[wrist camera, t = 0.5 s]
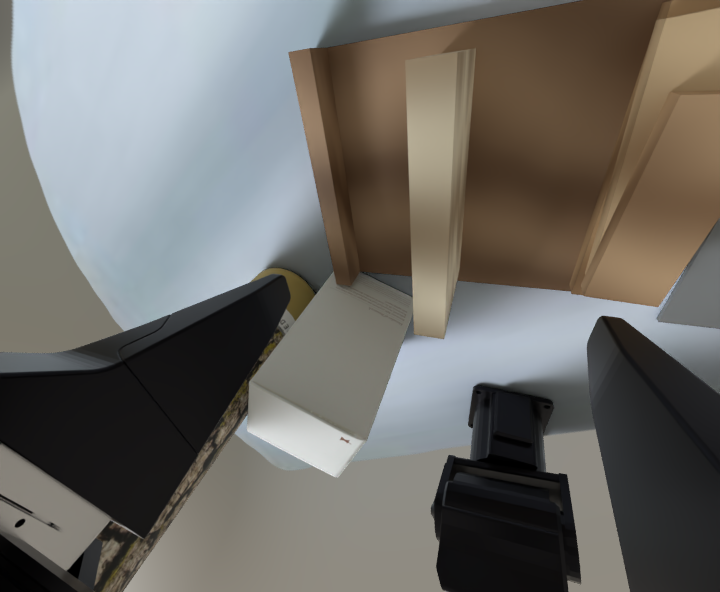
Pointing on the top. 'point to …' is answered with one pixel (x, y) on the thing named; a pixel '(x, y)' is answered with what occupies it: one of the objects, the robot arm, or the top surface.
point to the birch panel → (437, 179)
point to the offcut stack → (660, 165)
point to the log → (130, 550)
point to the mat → (698, 288)
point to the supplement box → (330, 373)
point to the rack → (478, 137)
